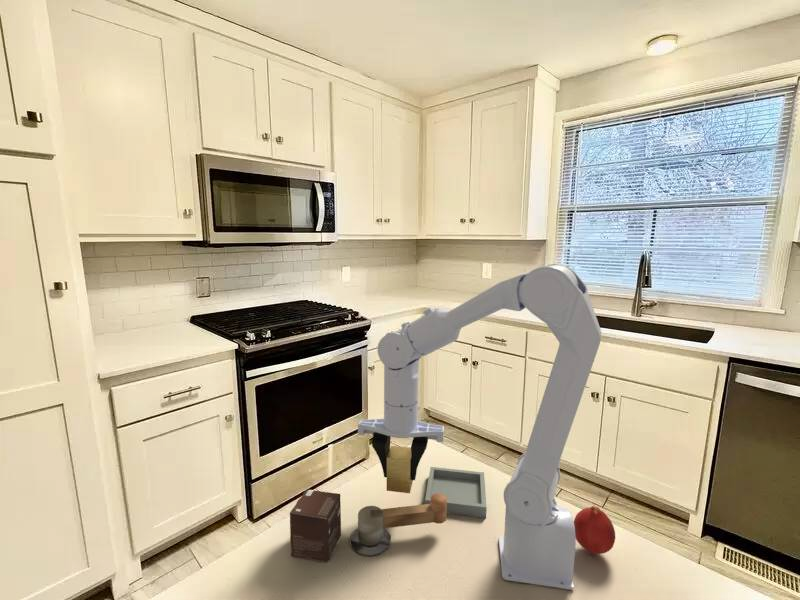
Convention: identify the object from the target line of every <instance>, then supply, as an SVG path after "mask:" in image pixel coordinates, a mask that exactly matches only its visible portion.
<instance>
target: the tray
mask: <svg viewBox="0 0 800 600" xmlns="http://www.w3.org/2000/svg"><path fill="white" fill-rule="evenodd" d="M485 481H486V480H485V472H484V471H483V472H481V471H472V470H465V469H463V470H462V469H457V468H456V469H455V468H454V469H453V468H447V467H446V468H445V467H436V466H430V469H429V474H428V480H427V486H426V493H425V498H424V504H431V496H432V495H434V494H442V495H444V496H446V498H447V510H446V514H451V515H459V516H467V517H477V518H484V519H486V518H487V507H488V506H487V495H486V482H485Z"/></svg>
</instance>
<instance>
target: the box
mask: <svg viewBox="0 0 800 600" xmlns="http://www.w3.org/2000/svg"><path fill="white" fill-rule="evenodd" d="M341 511H342V510H341V493H335V492H330V491H329V492H328V491H321V490H313V489H306V490H305V491H304V492H303V494H302V495H301V497H300V498H299V499H298V500H297V501H296V503H295V505H294V507H292V509H291V511H290V512H289V534H290V537H289V539H290V556H291V557H292V558H298V559H303V560H310V561H315V562H321V563H328V562H329V561H330V559H331V558H332V555H333V553H334V551H335V550H336V547H337V545H338V543H339V541H340V538H341V537H342V515H341V513H342V512H341Z"/></svg>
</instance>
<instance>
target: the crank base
mask: <svg viewBox="0 0 800 600" xmlns="http://www.w3.org/2000/svg"><path fill="white" fill-rule="evenodd" d="M391 542H392V535H391V533H390V531H389V530H388V528H383V539H382V541H381V542H380V543H378V544H376V545H373V546H367V545H364V544H362V543H361V542H360V541H359V539H358V527H357V528H356V529H355V530H354V531H352V533H351V536H350V542H349V543H350V547H351V549H352V551H354V552H355V553H356V554H357V555H360V556H361V557H362V556H363V557H368V558H369V557H376V556H380V555H382V554H384V553H385V552H387V550H388V549H389V548H390V545H391V544H392V543H391Z"/></svg>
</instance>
